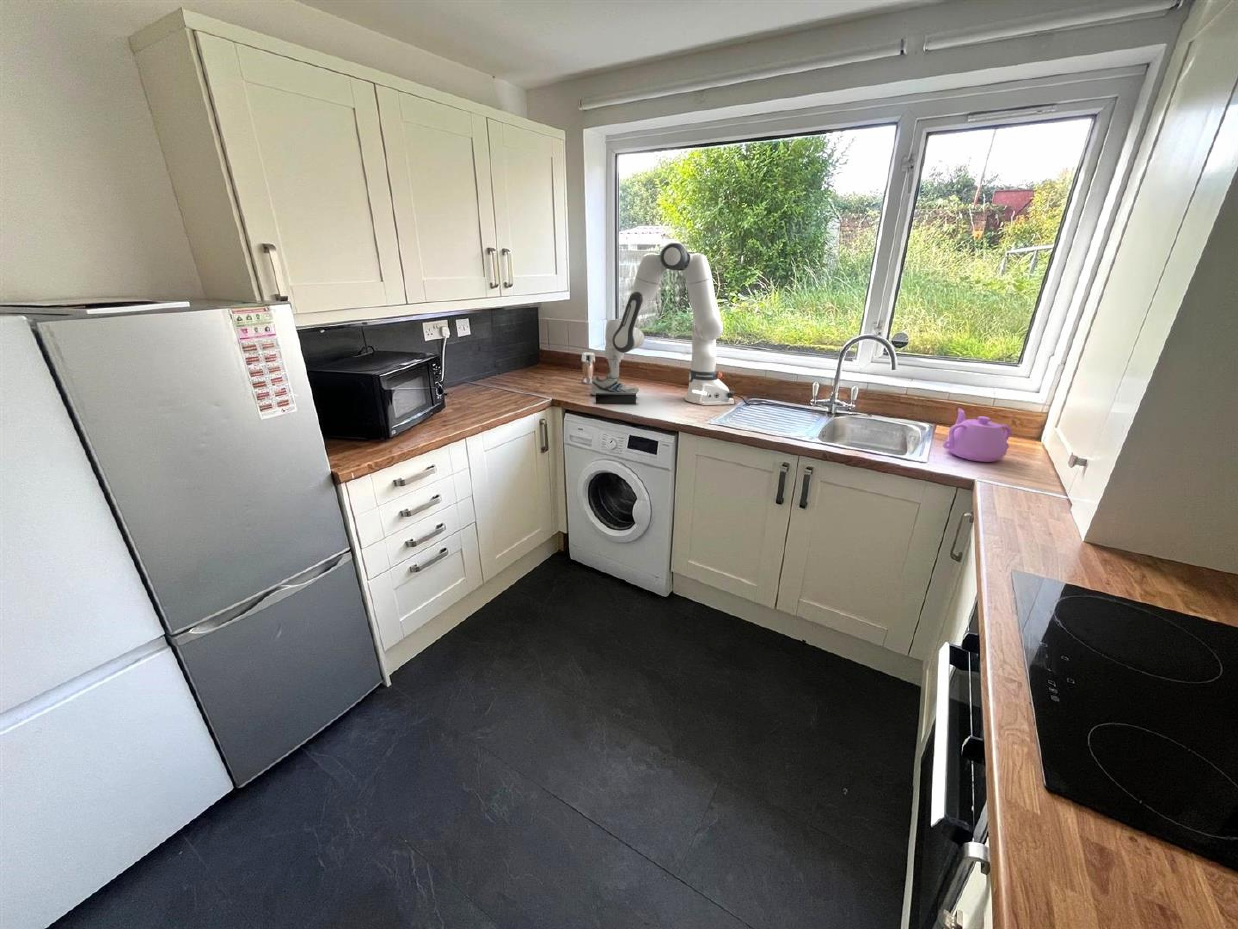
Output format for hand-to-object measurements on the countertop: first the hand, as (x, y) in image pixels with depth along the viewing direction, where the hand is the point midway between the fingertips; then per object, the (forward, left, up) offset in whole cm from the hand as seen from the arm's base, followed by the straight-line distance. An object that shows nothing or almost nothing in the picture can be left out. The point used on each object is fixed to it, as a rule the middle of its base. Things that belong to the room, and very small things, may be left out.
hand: (613, 383), depth 240 cm
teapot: (-119, +83, -5) cm, 145 cm away
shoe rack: (0, +21, -4) cm, 21 cm away
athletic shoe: (0, +7, -5) cm, 8 cm away
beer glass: (+12, -22, -5) cm, 26 cm away
